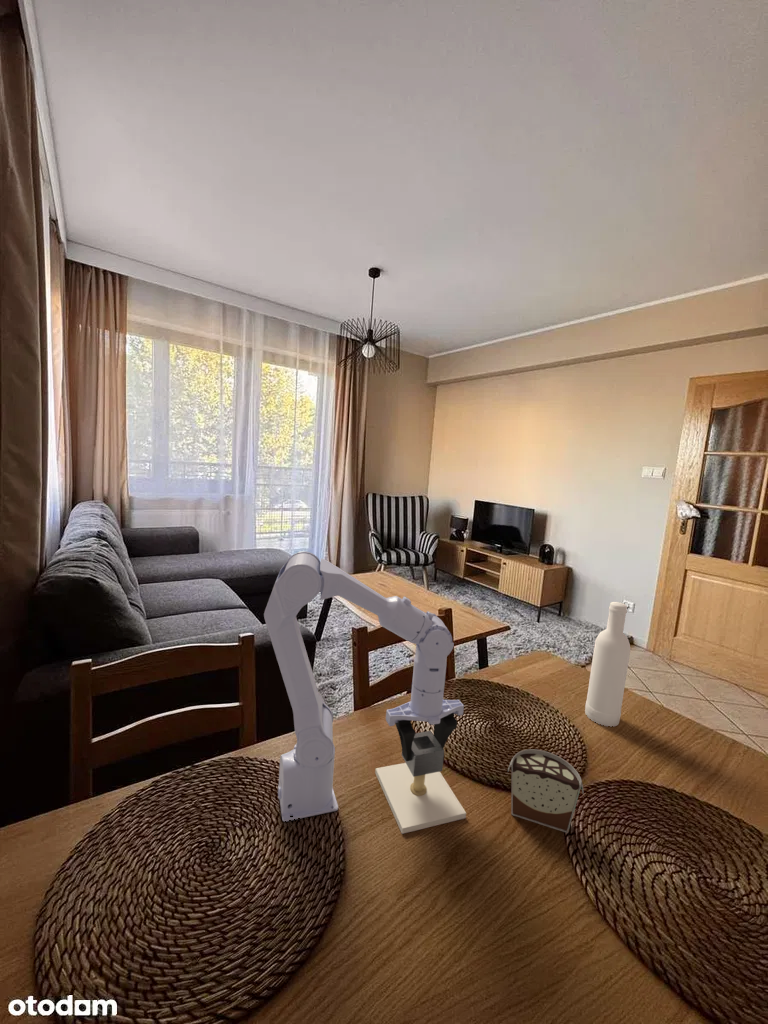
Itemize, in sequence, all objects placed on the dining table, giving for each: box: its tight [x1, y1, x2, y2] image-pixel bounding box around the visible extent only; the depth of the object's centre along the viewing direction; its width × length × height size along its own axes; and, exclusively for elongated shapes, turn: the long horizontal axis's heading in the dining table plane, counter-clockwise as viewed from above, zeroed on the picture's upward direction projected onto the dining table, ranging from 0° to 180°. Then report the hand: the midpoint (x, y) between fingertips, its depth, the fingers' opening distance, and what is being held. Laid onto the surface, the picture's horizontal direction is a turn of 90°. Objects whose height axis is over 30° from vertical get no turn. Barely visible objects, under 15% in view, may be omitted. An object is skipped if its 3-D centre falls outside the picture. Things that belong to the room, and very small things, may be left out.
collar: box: [401, 730, 445, 777], centre depth 77 cm, size 6×6×4 cm
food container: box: [507, 748, 585, 834], centre depth 76 cm, size 12×6×10 cm, turn 71°
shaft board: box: [374, 762, 467, 835], centre depth 78 cm, size 12×14×6 cm
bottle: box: [584, 601, 632, 728], centre depth 106 cm, size 8×8×30 cm
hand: (421, 754), depth 78 cm, fingers closed on collar, 6 cm apart
